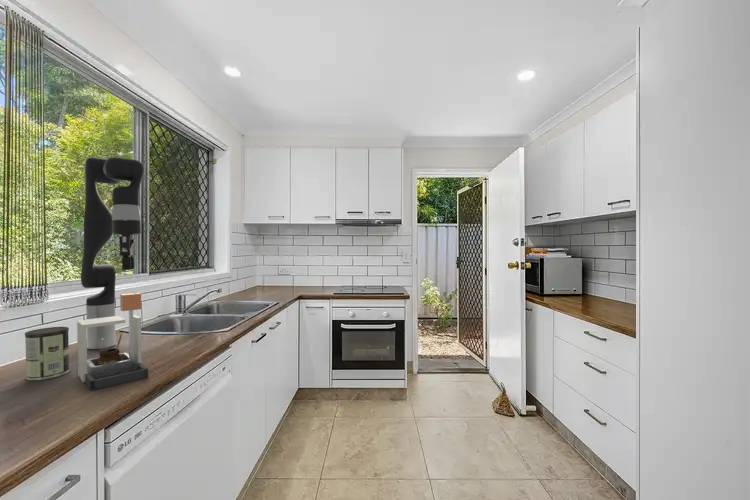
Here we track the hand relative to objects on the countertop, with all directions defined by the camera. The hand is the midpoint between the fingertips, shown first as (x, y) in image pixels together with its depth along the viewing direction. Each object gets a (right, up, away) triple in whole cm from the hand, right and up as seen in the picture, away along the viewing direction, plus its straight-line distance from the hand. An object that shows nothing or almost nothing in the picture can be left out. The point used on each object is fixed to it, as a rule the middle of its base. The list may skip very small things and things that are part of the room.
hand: (128, 269), depth 117 cm
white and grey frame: (-5, -33, -2) cm, 33 cm away
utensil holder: (-5, -33, -2) cm, 33 cm away
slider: (-4, -32, -1) cm, 32 cm away
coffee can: (-23, -33, -3) cm, 41 cm away
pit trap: (+3, -33, -9) cm, 34 cm away
